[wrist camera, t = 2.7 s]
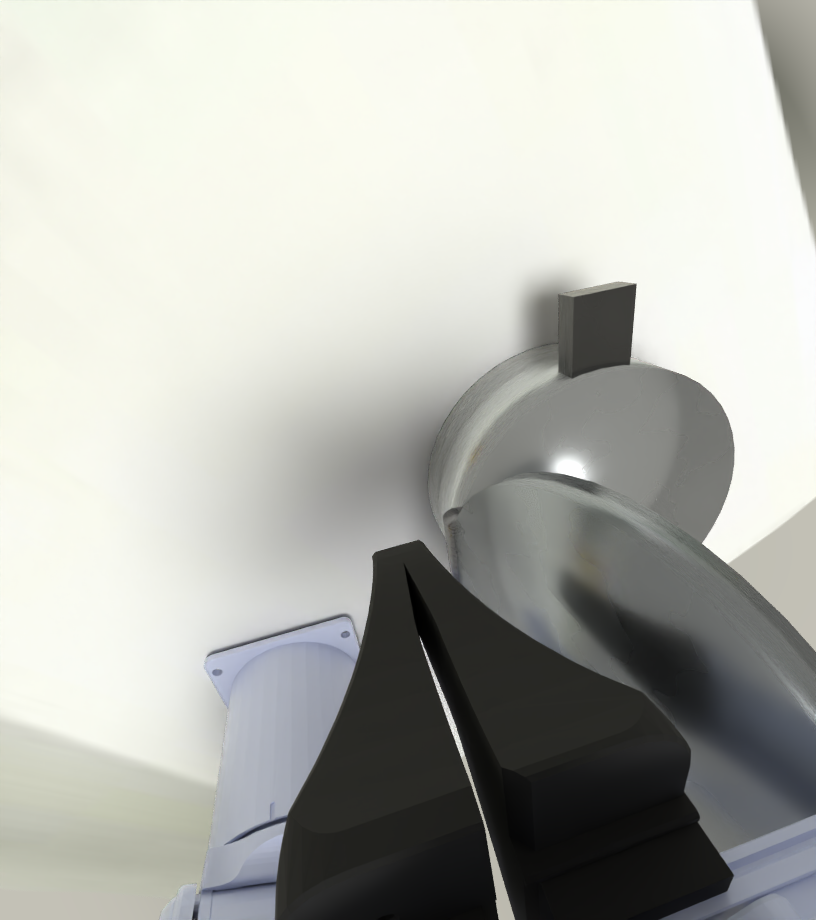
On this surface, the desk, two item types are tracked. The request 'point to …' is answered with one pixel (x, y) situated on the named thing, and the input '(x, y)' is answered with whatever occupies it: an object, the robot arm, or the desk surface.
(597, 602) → the lid
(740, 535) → the desk surface
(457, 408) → the pot
